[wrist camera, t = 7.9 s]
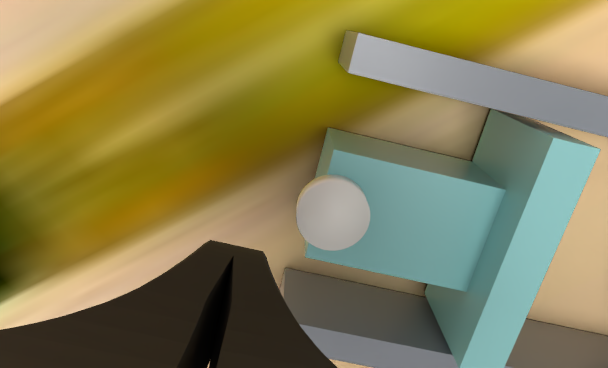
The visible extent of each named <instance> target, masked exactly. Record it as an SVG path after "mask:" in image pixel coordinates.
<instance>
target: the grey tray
mask: <svg viewBox="0 0 608 368" xmlns="http://www.w3.org/2000/svg"><path fill="white" fill-rule="evenodd" d="M338 63H339V64H340V65H341V66H342V67H343V68H344V69H345V70H346V71H347V72H348V73H351V74H355V75H359V76H363V77H367V78H371V79H375V80H379V81H383V82H387V83H391V84H395V85H399V86H403V87H407V88H411V89H415V90H419V91H423V92H427V93H432V94H436V95H440V96H444V97H448V98H452V99H456V100H460V101H464V102H468V103H472V104H476V105H480V106H484V107H488V108H492V109H496V110H500V111H504V112H508V113H512V114H516V115H520V116H524V117H528V118H532V119H536V120H540V121H544V122H548V123H552V124H556V125H560V126H565V127H569V128H573V129H577V130H581V131H585V132H589V133H593V134H597V135H601V136H605V137H608V96H604V95H600V94H596V93H592V92H588V91H585V90H581V89H577V88H573V87H569V86H565V85H561V84H557V83H553V82H549V81H545V80H541V79H538V78H534V77H530V76H526V75H522V74H518V73H514V72H510V71H506V70H502V69H498V68H495V67H491V66H487V65H483V64H479V63H475V62H471V61H467V60H463V59H459V58H455V57H451V56H448V55H444V54H440V53H436V52H432V51H428V50H424V49H420V48H416V47H412V46H408V45H404V44H401V43H397V42H393V41H389V40H385V39H381V38H377V37H373V36H369V35H365V34H361V33H357V32H353V31H348V30H346V33H345V37H344V41H343V45H342V49H341V53H340V56H339V60H338ZM280 292H281V294H282V296H283V298H284V300H285V302H286V304H287V306H288V307H289V309H290V311H291V312H292V314H293V316H294V317H295V319H296V320H297V322H298V324H299V325H300V326H301V328H302V329H303V330H304V331H305V333H306V334H307V335H308V336H309V338H310V339H311V340H312V341H313V343H314V344H315V345H316V346H317V347H318V348H319V349H320V351H321V352H322V353H323V354H324V355H325V356H326V357H327V358H328V359H333V360H338V361H343V362H348V363H353V364H358V365H363V366H368V367H374V368H458V365H457V363H456V361H455V359H454V357H453V355H452V352H451V350H450V348H449V346H448V344H447V341H446V339H445V337H444V335H443V333H442V331H441V328H440V326H439V324H438V322H437V320H436V317H435V315H434V313H433V311H432V309H431V307H430V304H429V302H428V300H427V298H426V297H421V296H416V295H411V294H407V293H402V292H397V291H393V290H388V289H383V288H378V287H374V286H369V285H364V284H359V283H355V282H350V281H345V280H341V279H336V278H331V277H326V276H322V275H317V274H312V273H308V272H303V271H298V270H293V269H289V268H285V270H284V274H283V278H282V282H281V286H280ZM504 368H608V336H605V335H600V334H595V333H591V332H586V331H581V330H577V329H572V328H567V327H562V326H558V325H553V324H548V323H544V322H539V321H534V320H529V319H525V322H524V324H523V326H522V328H521V331H520V333H519V335H518V337H517V340H516V342H515V344H514V346H513V349H512V351H511V353H510V355H509V358H508V360H507V362H506V365H505V367H504Z"/></svg>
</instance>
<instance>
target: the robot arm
mask: <svg viewBox="0 0 608 368" xmlns="http://www.w3.org/2000/svg"><path fill="white" fill-rule="evenodd" d="M209 361H210V365H209V368H337V367H336V366H335V365H334V364H333V363H332V362H331V361H330V360H329V359H328V358H327V357H326V356H325V355H324V354H323V353H322V352H321V351H320V349H319V348H318V347H317V346H316V345H315V344H314V343H313V341H312V340H311V339H310V338H309V336H308V335H307V334H306V333H305V331H304V330H303V329H302V328H301V326H300V325H299V324H298V322H297V320H296V319H295V317H294V316H293V314H292V312H291V311H290V309H289V307H288V306H287V304H286V302H285V300H284V298H283V296H282V294H281V292H280V290H279V288H278V286H277V284H276V282H275V280H274V277H273V275H272V273H271V270H270V267H269V265H268V261H267V258H266V256H265V254H264V252H263V251H258V250H254V249H249V248H245V247H240V246H235V245H231V244H226V243H222V242H217V241H212V240H210V241H208V242H206V243H205V244H203V245H202V246H201V247H200V248H198V249H197V250H196V251H195V252H193V253H192V254H191V255H189V256H188V257H187V258H185V259H184V260H183V261H181V262H180V263H178V264H177V265H175V266H174V267H173V268H171V269H170V270H168V271H167V272H165V273H163V274H162V275H160V276H159V277H157V278H155V279H153V280H152V281H150V282H148V283H146V284H145V285H143V286H141V287H139V288H137V289H135V290H133V291H131V292H129V293H127V294H124V295H122V296H120V297H117V298H115V299H113V300H110V301H108V302H105V303H103V304H100V305H96V306H93V307H90V308H87V309H84V310H81V311H78V312H75V313H72V314H69V315H66V316H62V317H58V318H54V319H50V320H46V321H42V322H38V323H33V324H29V325H24V326H19V327H14V328H9V329H3V330H0V368H207V367H208V364H209Z"/></svg>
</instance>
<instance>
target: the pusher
mask: <svg viewBox="0 0 608 368" xmlns="http://www.w3.org/2000/svg"><path fill="white" fill-rule="evenodd" d="M600 150H601V149H599V148H596V147H594V146H592V145H589V144H587V143H585V142H582V141H580V140H578V139H575V138H573V137H571V136H569V135H566V134H564V133H562V132H559V131H557V130H555V129H552V128H550V127H548V126H545V125H543V124H541V123H538V122H536V121H534V120H531V119H529V118H526V117H522V116H518V115H514V114H510V113H506V112H502V111H498V110H494V109H491V110H490V113H489V116H488V119H487V121H486V124H485V127H484V130H483V132H482V135H481V138H480V141H479V143H478V146H477V149H476V152H475V155H474V157H473V160H472V161H467V160H463V159H459V158H455V157H451V156H446V155H442V154H438V153H434V152H429V151H425V150H421V149H417V148H413V147H408V146H404V145H400V144H396V143H392V142H387V141H383V140H379V139H375V138H371V137H366V136H362V135H358V134H354V133H350V132H345V131H341V130H337V129H333V128H329V127H328V129H327V133H326V137H325V141H324V145H323V148H322V152H321V156H320V160H319V164H318V167H317V171H316V175H315V179H314V180H312V181H311V182H309V183H308V184H307V185H306V186H305V187H304V188H303V190H302V191H301V193H300V195H299V197H298V200H297V207H296V220H297V226H298V229H299V231H300V233H301V235H302V236H303V237H304V239H305V257H306V258H311V259H316V260H320V261H325V262H330V263H334V264H339V265H344V266H348V267H353V268H358V269H362V270H367V271H372V272H376V273H381V274H386V275H390V276H395V277H400V278H404V279H409V280H414V281H418V282H423V283H428V285H427V287H426V290H425V296H426V298H427V300H428V302H429V304H430V307H431V309H432V311H433V313H434V315H435V317H436V320H437V322H438V324H439V326H440V328H441V331H442V333H443V335H444V337H445V339H446V341H447V344H448V346H449V348H450V350H451V352H452V355H453V357H454V359H455V361H456V363H457V365H458V368H504V367H505V365H506V362H507V360H508V358H509V355H510V353H511V351H512V349H513V346H514V344H515V342H516V340H517V337H518V335H519V333H520V331H521V328H522V326H523V324H524V322H525V319H526V317H527V315H528V313H529V310H530V308H531V306H532V303H533V301H534V299H535V297H536V294H537V292H538V290H539V288H540V285H541V283H542V281H543V279H544V276H545V274H546V272H547V270H548V267H549V265H550V263H551V261H552V258H553V256H554V254H555V251H556V249H557V247H558V245H559V242H560V240H561V238H562V236H563V233H564V231H565V229H566V227H567V224H568V222H569V220H570V218H571V215H572V213H573V211H574V209H575V206H576V204H577V202H578V199H579V197H580V195H581V193H582V190H583V188H584V186H585V184H586V181H587V179H588V177H589V175H590V172H591V170H592V168H593V166H594V163H595V161H596V159H597V157H598V154H599V152H600Z"/></svg>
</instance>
